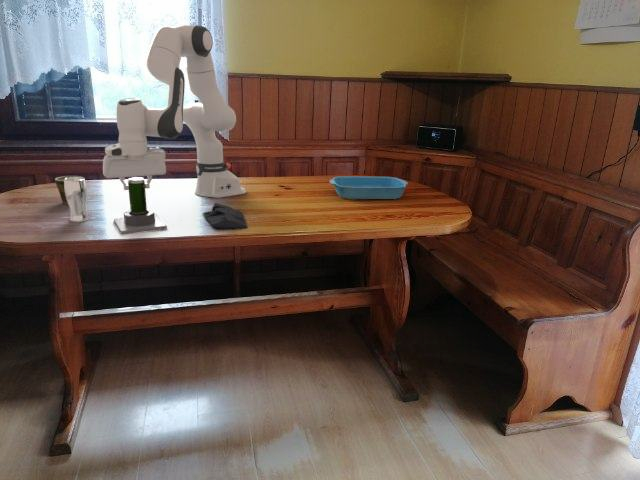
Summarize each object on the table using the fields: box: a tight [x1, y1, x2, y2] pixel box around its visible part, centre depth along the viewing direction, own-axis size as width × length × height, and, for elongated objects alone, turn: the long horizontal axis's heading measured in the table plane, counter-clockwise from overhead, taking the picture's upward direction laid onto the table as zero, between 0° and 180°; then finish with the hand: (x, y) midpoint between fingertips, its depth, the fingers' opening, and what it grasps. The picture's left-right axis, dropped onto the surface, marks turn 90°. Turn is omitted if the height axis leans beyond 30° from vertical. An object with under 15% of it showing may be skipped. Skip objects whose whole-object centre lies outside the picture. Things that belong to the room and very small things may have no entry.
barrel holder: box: [113, 208, 168, 235], centre depth 171 cm, size 15×15×5 cm
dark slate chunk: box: [202, 202, 248, 230], centre depth 181 cm, size 15×22×5 cm
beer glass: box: [64, 176, 90, 223], centre depth 172 cm, size 7×7×15 cm
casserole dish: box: [329, 175, 409, 200], centre depth 227 cm, size 37×22×7 cm, turn 97°
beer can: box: [127, 176, 148, 214], centre depth 168 cm, size 5×5×12 cm
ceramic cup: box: [54, 175, 82, 206], centre depth 194 cm, size 13×10×10 cm
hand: (136, 188), depth 167 cm, fingers closed on beer can, 5 cm apart
